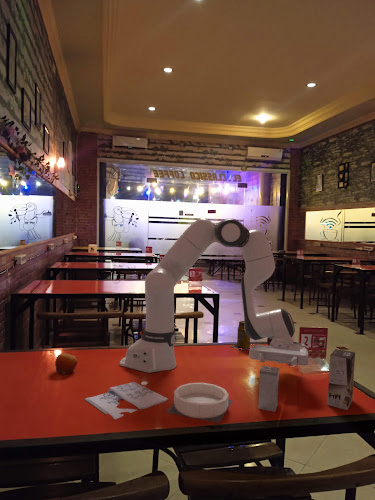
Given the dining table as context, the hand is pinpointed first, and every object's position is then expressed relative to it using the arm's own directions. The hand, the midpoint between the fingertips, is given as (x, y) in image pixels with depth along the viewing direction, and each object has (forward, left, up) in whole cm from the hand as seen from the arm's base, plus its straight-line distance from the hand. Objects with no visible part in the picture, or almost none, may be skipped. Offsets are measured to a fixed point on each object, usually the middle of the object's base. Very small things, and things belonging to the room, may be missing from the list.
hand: (276, 361), depth 130 cm
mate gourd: (-6, +49, -11) cm, 50 cm away
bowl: (-19, -20, -10) cm, 30 cm away
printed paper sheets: (-42, -25, -12) cm, 51 cm away
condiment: (-21, +49, -11) cm, 54 cm away
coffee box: (+21, +2, -11) cm, 23 cm away
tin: (0, -12, -11) cm, 16 cm away
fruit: (-74, -12, -11) cm, 76 cm away
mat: (-19, -20, -11) cm, 30 cm away
